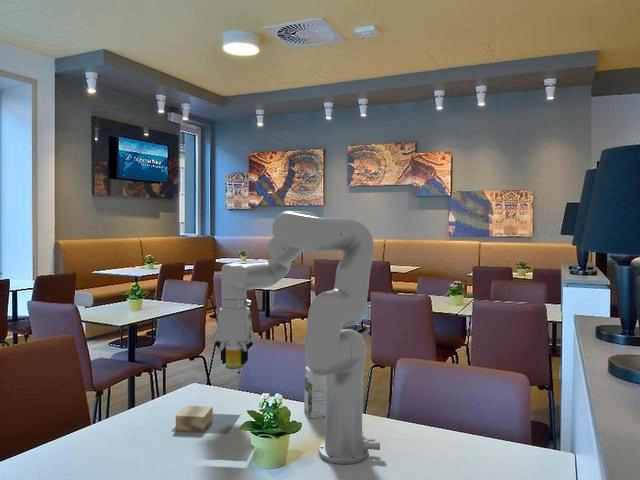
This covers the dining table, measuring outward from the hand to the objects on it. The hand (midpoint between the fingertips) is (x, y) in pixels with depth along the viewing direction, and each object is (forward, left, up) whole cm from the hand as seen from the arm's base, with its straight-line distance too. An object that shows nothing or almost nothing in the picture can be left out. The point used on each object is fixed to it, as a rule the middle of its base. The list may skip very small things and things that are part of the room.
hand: (234, 362), depth 155 cm
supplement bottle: (0, 0, -2) cm, 2 cm away
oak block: (+8, +12, -15) cm, 21 cm away
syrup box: (-25, -3, -16) cm, 30 cm away
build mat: (+5, +10, -16) cm, 20 cm away
